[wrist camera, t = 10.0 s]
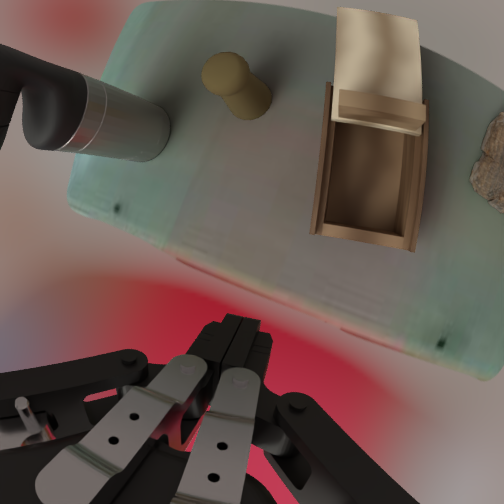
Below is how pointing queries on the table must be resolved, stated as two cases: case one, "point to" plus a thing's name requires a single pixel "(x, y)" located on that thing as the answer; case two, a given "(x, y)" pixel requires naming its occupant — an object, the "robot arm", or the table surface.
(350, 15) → the cover plate
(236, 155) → the table surface
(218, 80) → the tan pawn
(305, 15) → the table surface
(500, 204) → the clay tablet
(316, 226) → the lid box
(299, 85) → the table surface
